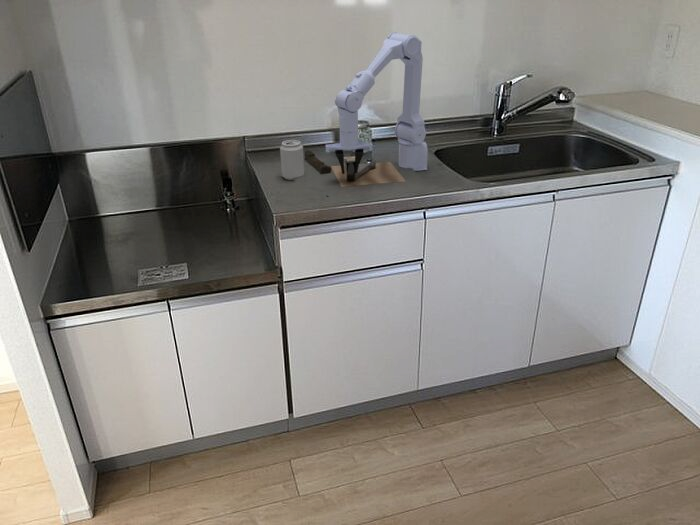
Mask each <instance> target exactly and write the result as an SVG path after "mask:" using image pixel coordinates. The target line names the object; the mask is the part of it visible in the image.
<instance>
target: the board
mask: <svg viewBox="0 0 700 525" xmlns="http://www.w3.org/2000/svg"><path fill="white" fill-rule="evenodd" d="M349 158H355V155H354V156H344V174H342V170H341V166H340V165H331V166H330V167H331V170H332V171H333V173H334V175H335V178H337V181H338V183H339V186H340V187H341V188H343V187H355V186H356V187H358V186H367V185H368V186H369V185H382V184H394V183H402V182H403V183H404V182H407V181H406V179H405V178H404V177H403V175H401V173H400V172H399V170H397V168H396V167H395V166H394V164H393V163H392V162H391V161H382V162H381V161H380V162H376V168H374V169H369V170H368V171H367V172H365V173H364V174H362V175H361V176H360V177H358V178H357V179H356V180H355V181H352V182H350V181H347V169H346V162H347V159H349ZM361 164H362V163H360V164H359V165H361Z"/></svg>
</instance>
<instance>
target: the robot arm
mask: <svg viewBox="0 0 700 525" xmlns="http://www.w3.org/2000/svg"><path fill="white" fill-rule="evenodd" d="M398 59H399V60H401V62H402V63H403V64H404V76H403V78H404V79H403V93H402V95H403V96H402V100H403V101H402V112H401V114H400V115H399V116H398V117H397V120H396V124H395V127H394V136H395V137H396V138H397V142H398V166H399V167H401V168H404V169H412V170H413V171H414V172H419V171H420V172H421V171H428V152H429V151H428V144H427V143H426V141H424V140H425V138H426V136H427V135H426V134H427V131H426V128H425V120H424V119H423V118H422V116H421V115H420V105H421V91H422V90H421V89H422V77H423V76H422V75H423V61H424V58H423V53H422V41H421V40H420V39H419V37H417V36H416V35H415V34H407V33H405V34H404V33H400V32H396V31H395V32H391V33H389V34H388V36H387V37H386V39H384V40H383V42H382V47H381V49H380V50H379V52H378V53H377V55H376V56H375V57H374V59H373V60H372V61H371V63H370V64H369V66H368V67H367V69H366V70H360V71H358V72H357V73H356V74H355V77H354V78H353V79H352V80H351V82H350V83H349V84H348V85H347V86H346V87H345V89H343V90H340V91H339V92H338V93H337V95H336V98H335V99H334V104H335V106H336V107H337V112H338V116H339V118H338V121H339V122H338V123H339V142H337V143H331V144H330V143H329V144H325V152H326V153H330V152H334V153H335V156H336V158H337V160H338V163H339V166H341V170H342V174H344V157H345V155H344V152H349V151H350V152H352V151H354V156H355V173H357V172H358V167H359V164H361V161H362V159H363V157H364V154H365V152H364V151H373V142H364V141H363V142H361V141H359V110H360V109H361V107H362V105H363V101H364V98H365V96H366V95H367V94H368V92H370V90H371V89H372V88H373V87H374V86H375V83H376V77H377V76H378V75H379V74H380V73H381V72H382V71H383V70H384V68H385V67H386V66H387V65H389V64H390V62H391V61H393V60H398Z"/></svg>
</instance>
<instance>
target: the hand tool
mask: <svg viewBox="0 0 700 525" xmlns="http://www.w3.org/2000/svg"><path fill="white" fill-rule="evenodd" d="M304 157H305V161H306V162H308V164H310V165H311V167H313V169H315V170H316V171H318V172H319V174H320V175H326V174H331V173H332V168H331V166H329V165H326V164H325V162H324V161H321V160H320V159H319V158H318V157H316V154H315V152H312V151H310V150H308V149H307V150H305V151H304Z"/></svg>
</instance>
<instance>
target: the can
mask: <svg viewBox="0 0 700 525" xmlns="http://www.w3.org/2000/svg"><path fill="white" fill-rule="evenodd" d="M301 143H302V141H300V140H298V139H288V140H283V141H282V142H281V146H280V147H279V153H280V167H281V169H280V170H281V177H283V178H284V179H285V180H288V181H296V179H295V178H300V177H302V176H304V175H305V164H304V163H305V162H304V157H305V155H304V146H303V145H302V144H301Z"/></svg>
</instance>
